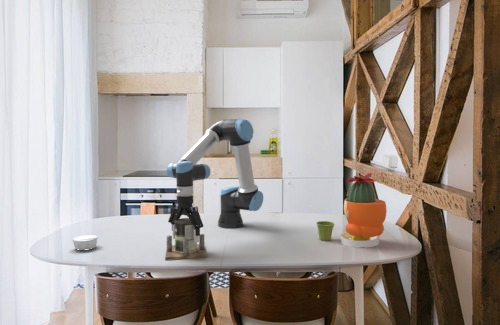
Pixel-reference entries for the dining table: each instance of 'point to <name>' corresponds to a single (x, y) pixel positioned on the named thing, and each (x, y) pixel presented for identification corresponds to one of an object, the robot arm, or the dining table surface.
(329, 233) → the plant pot
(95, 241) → the ramekin
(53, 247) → the dining table surface
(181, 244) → the coffee can
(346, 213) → the potted cactus
